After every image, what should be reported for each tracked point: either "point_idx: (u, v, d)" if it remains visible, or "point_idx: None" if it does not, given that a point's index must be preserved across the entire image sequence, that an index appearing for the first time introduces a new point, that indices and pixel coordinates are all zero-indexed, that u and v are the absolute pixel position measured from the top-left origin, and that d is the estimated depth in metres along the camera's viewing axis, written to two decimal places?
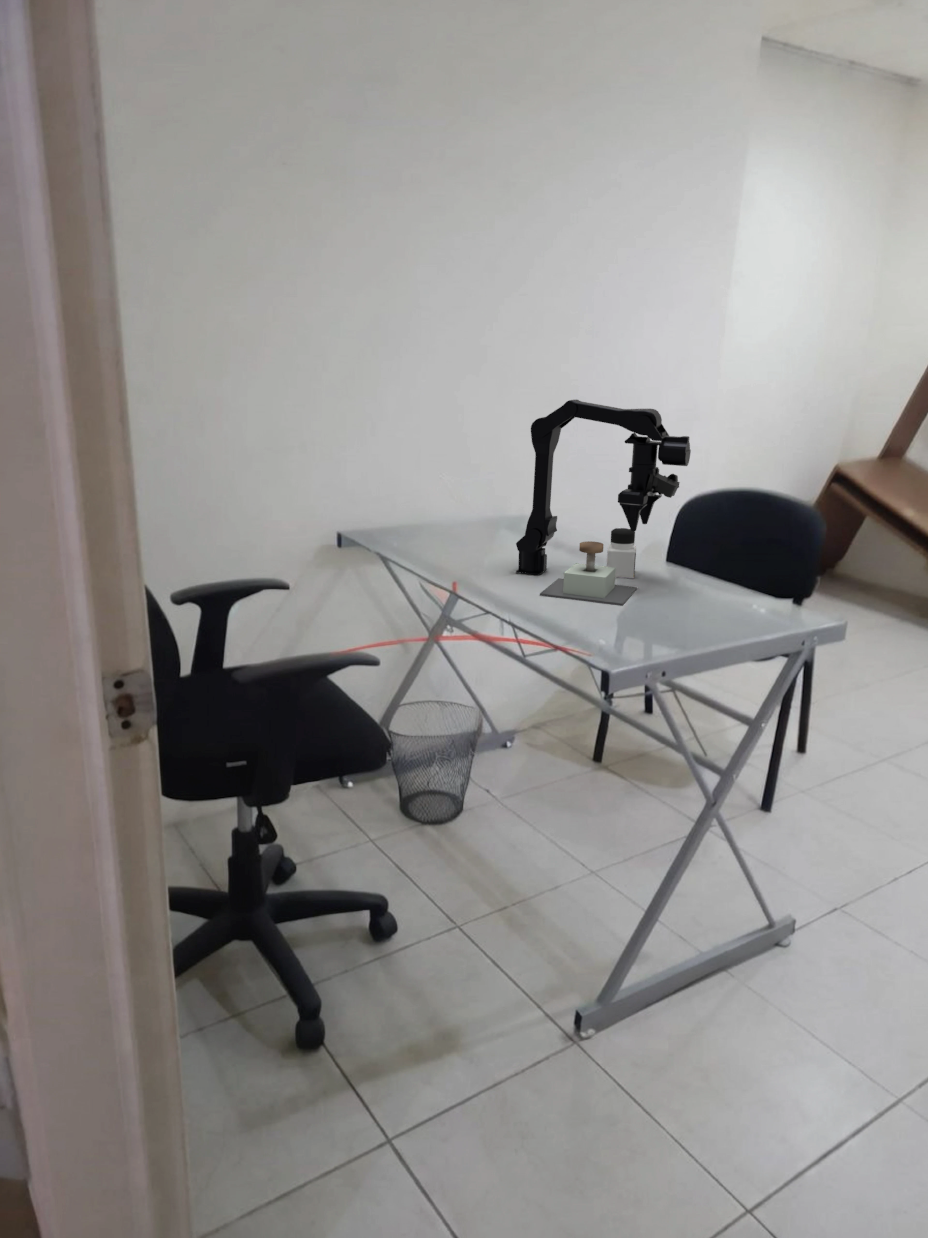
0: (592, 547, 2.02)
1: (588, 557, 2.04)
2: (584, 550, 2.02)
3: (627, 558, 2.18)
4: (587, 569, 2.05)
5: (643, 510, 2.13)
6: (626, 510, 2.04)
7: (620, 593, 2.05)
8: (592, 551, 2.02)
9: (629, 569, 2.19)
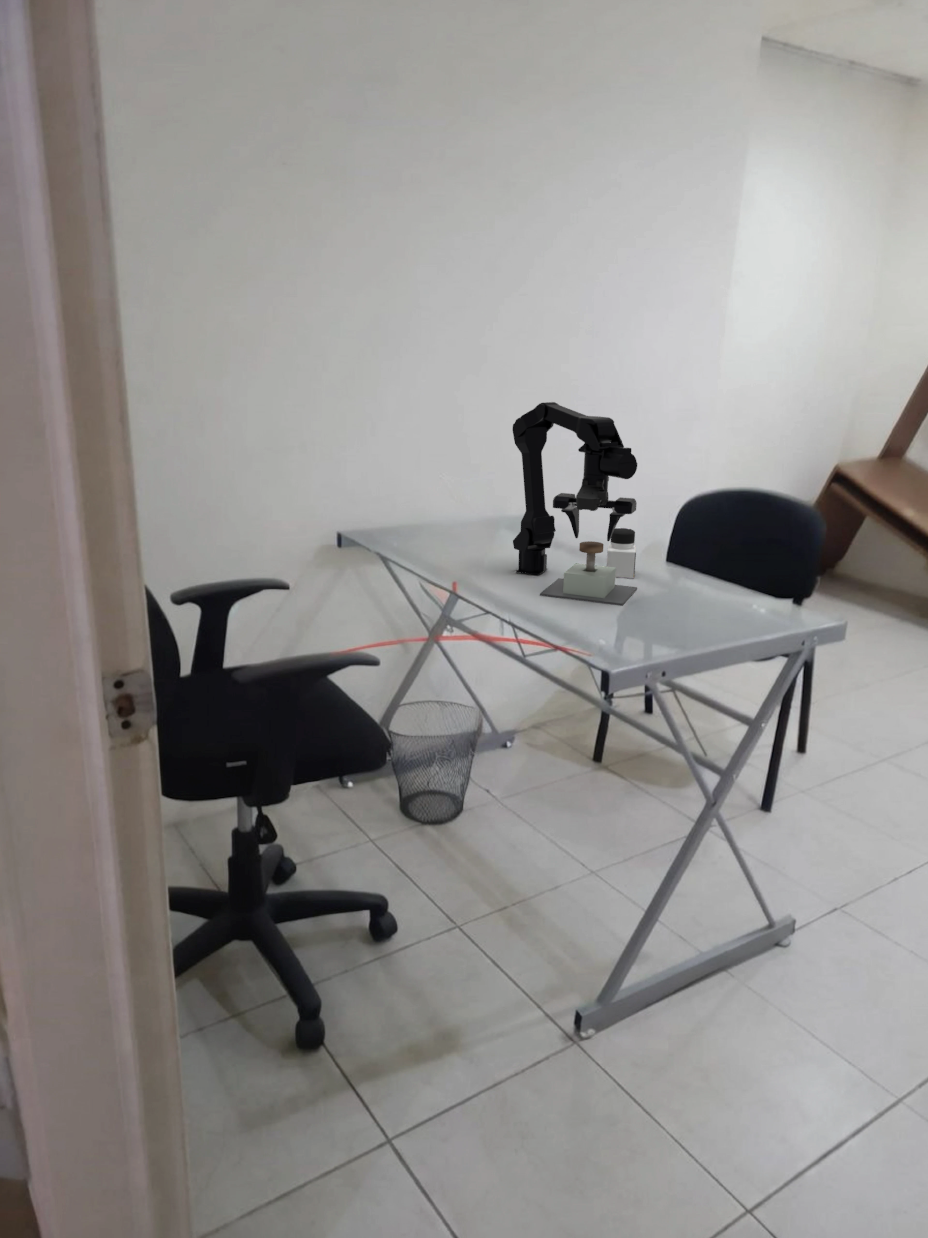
0: (592, 547, 2.02)
1: (588, 557, 2.04)
2: (584, 550, 2.02)
3: (627, 558, 2.18)
4: (587, 569, 2.05)
5: None
6: None
7: (620, 593, 2.05)
8: (592, 551, 2.02)
9: (629, 569, 2.19)
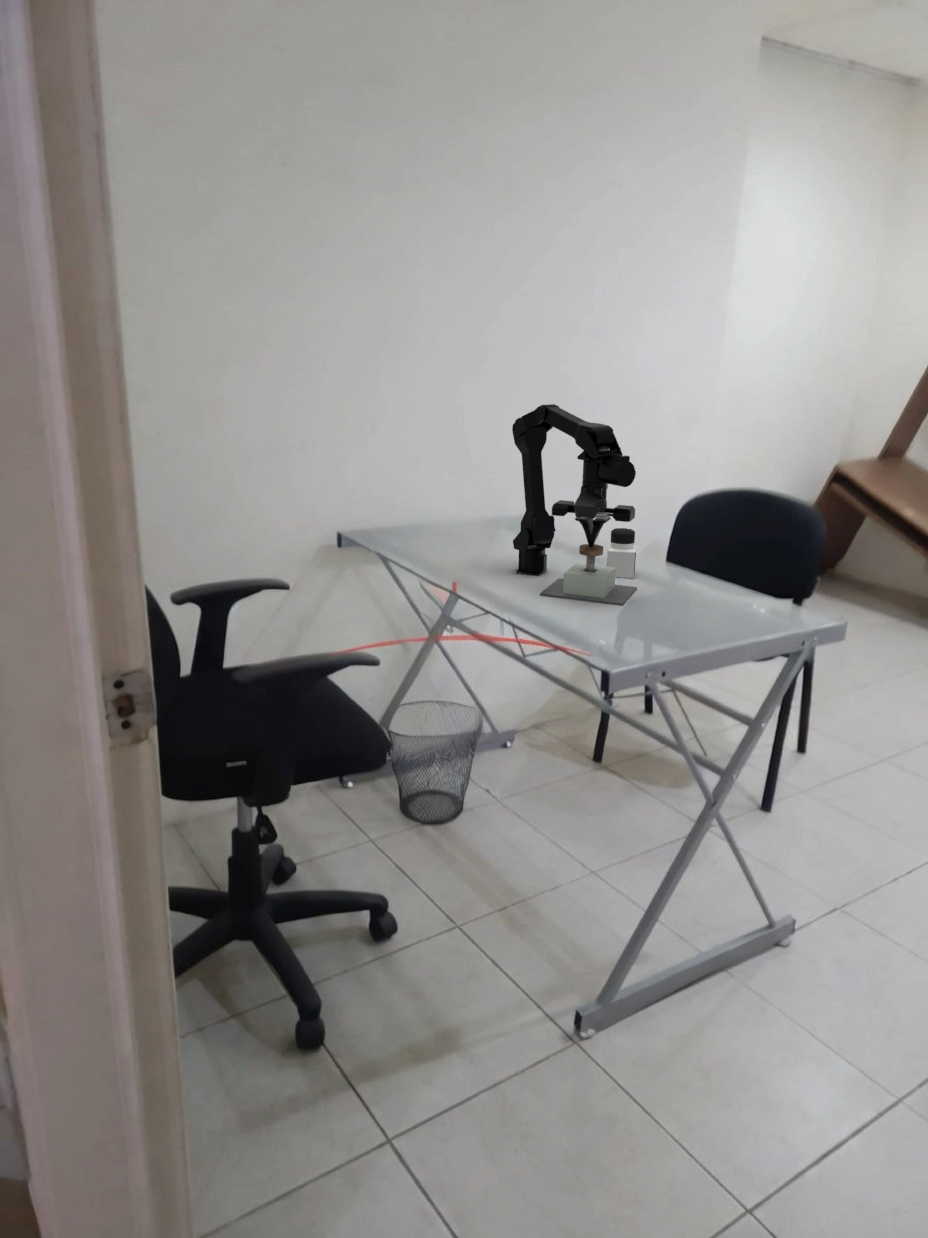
0: (592, 550, 2.02)
1: (588, 560, 2.05)
2: (584, 553, 2.03)
3: (627, 558, 2.18)
4: None
5: None
6: None
7: (620, 593, 2.05)
8: (592, 554, 2.02)
9: (629, 569, 2.19)
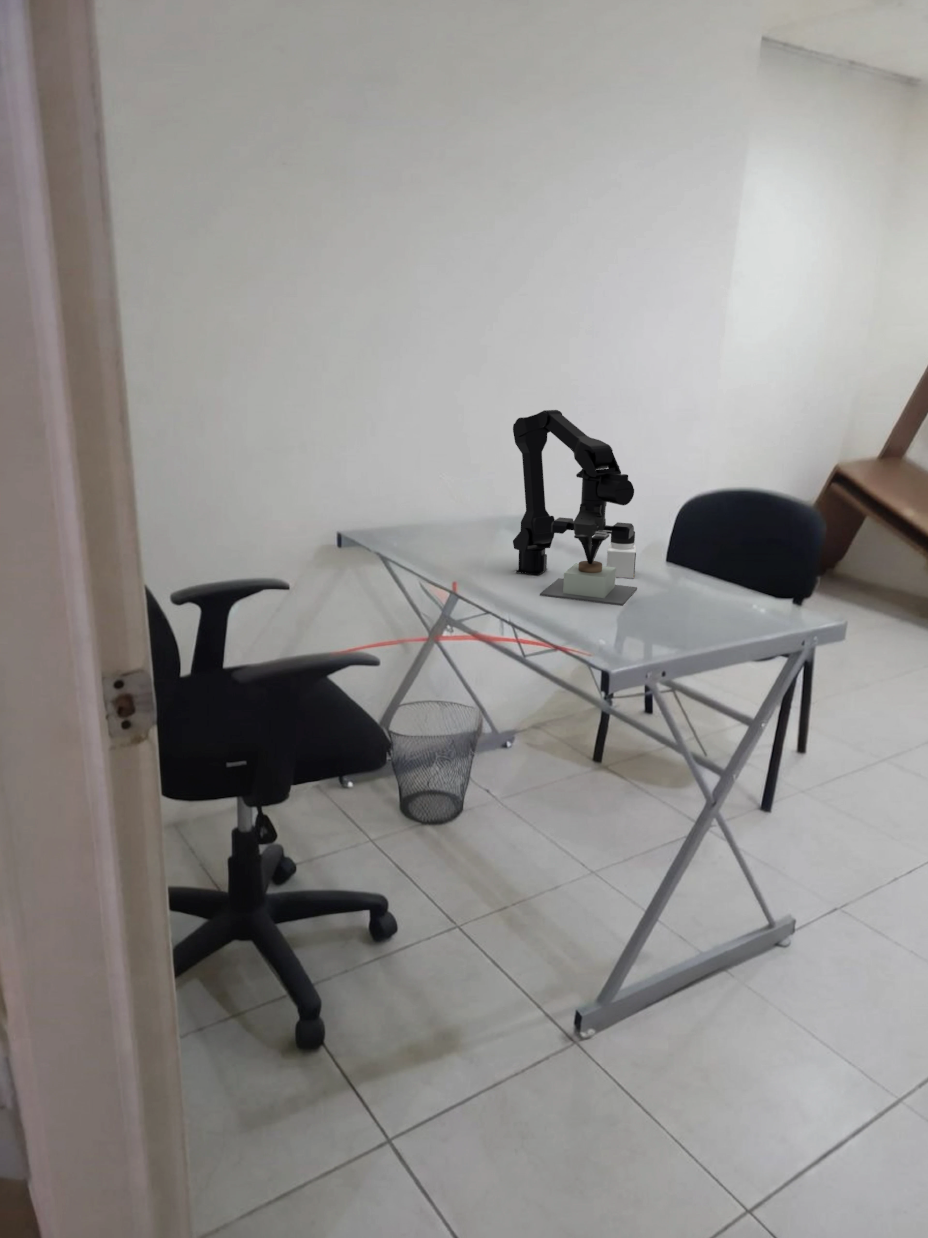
0: (591, 567, 2.03)
1: None
2: (583, 570, 2.04)
3: (627, 558, 2.18)
4: None
5: None
6: None
7: (620, 593, 2.05)
8: (591, 571, 2.03)
9: (629, 569, 2.19)
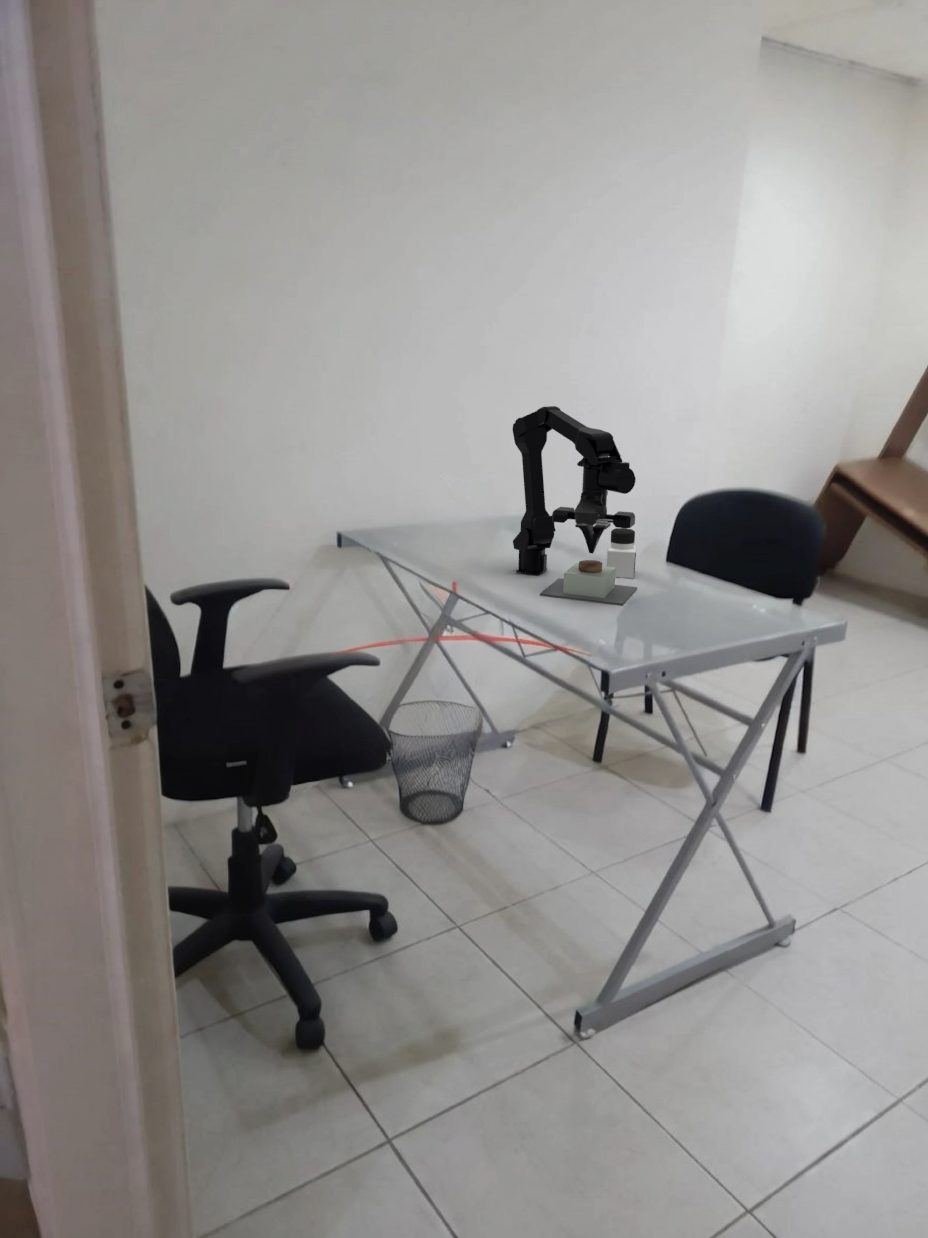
0: (591, 566, 2.03)
1: None
2: (583, 569, 2.04)
3: (627, 558, 2.18)
4: None
5: None
6: None
7: (620, 593, 2.05)
8: (591, 570, 2.03)
9: (629, 569, 2.19)
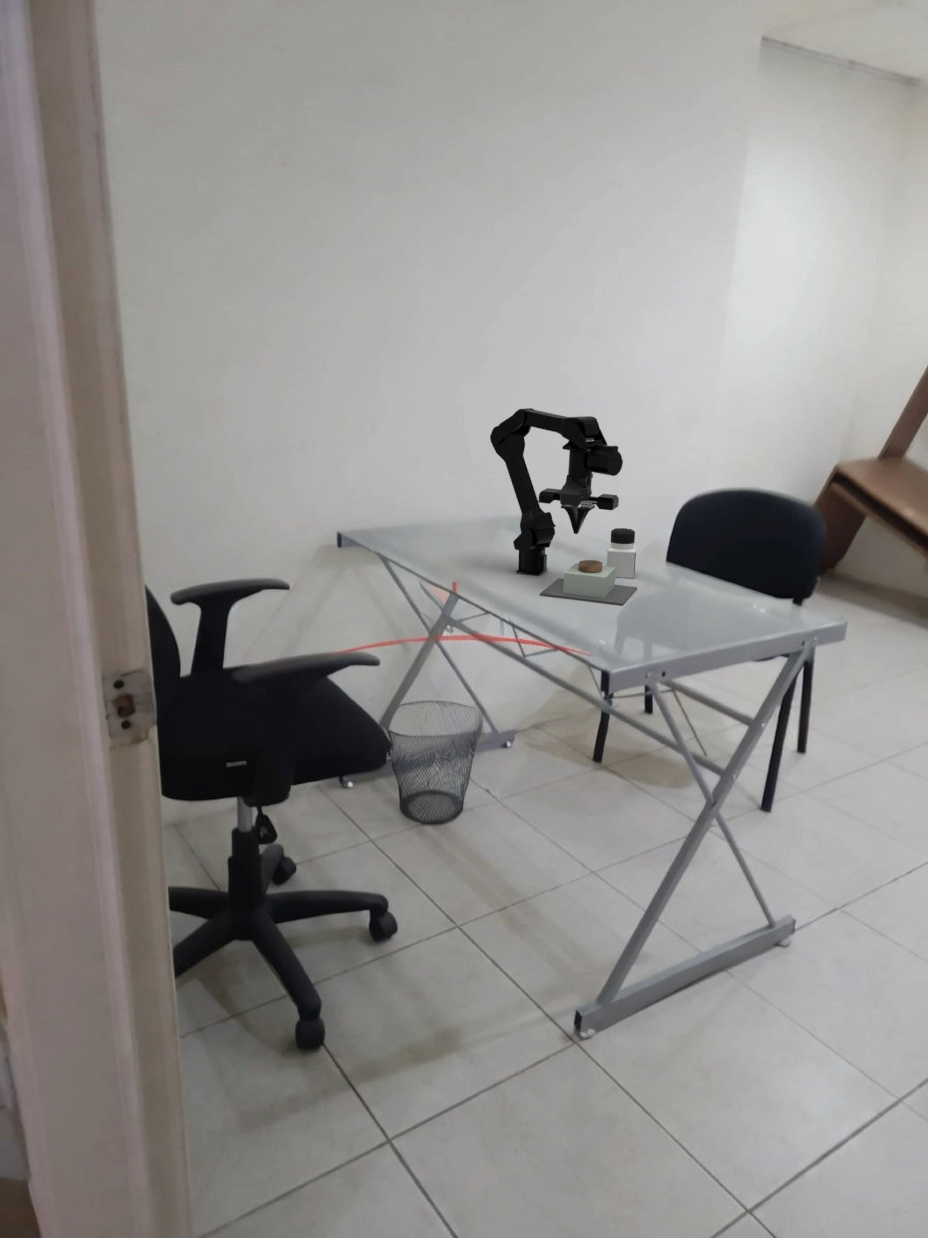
0: (591, 566, 2.03)
1: None
2: (583, 569, 2.04)
3: (627, 558, 2.18)
4: None
5: None
6: None
7: (620, 593, 2.05)
8: (591, 570, 2.03)
9: (629, 569, 2.19)
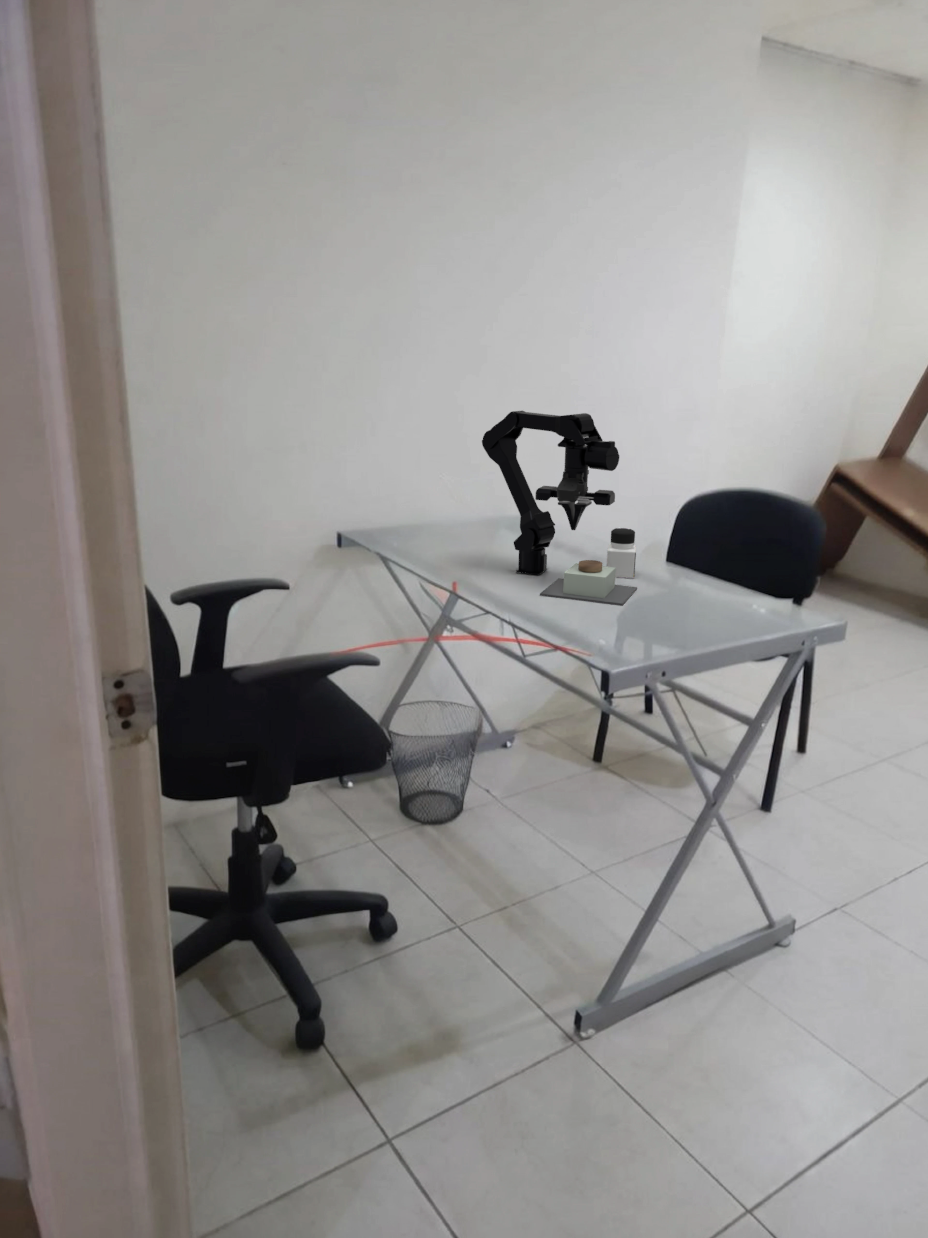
0: (591, 566, 2.03)
1: None
2: (583, 569, 2.04)
3: (627, 558, 2.18)
4: None
5: None
6: None
7: (620, 593, 2.05)
8: (591, 570, 2.03)
9: (629, 569, 2.19)
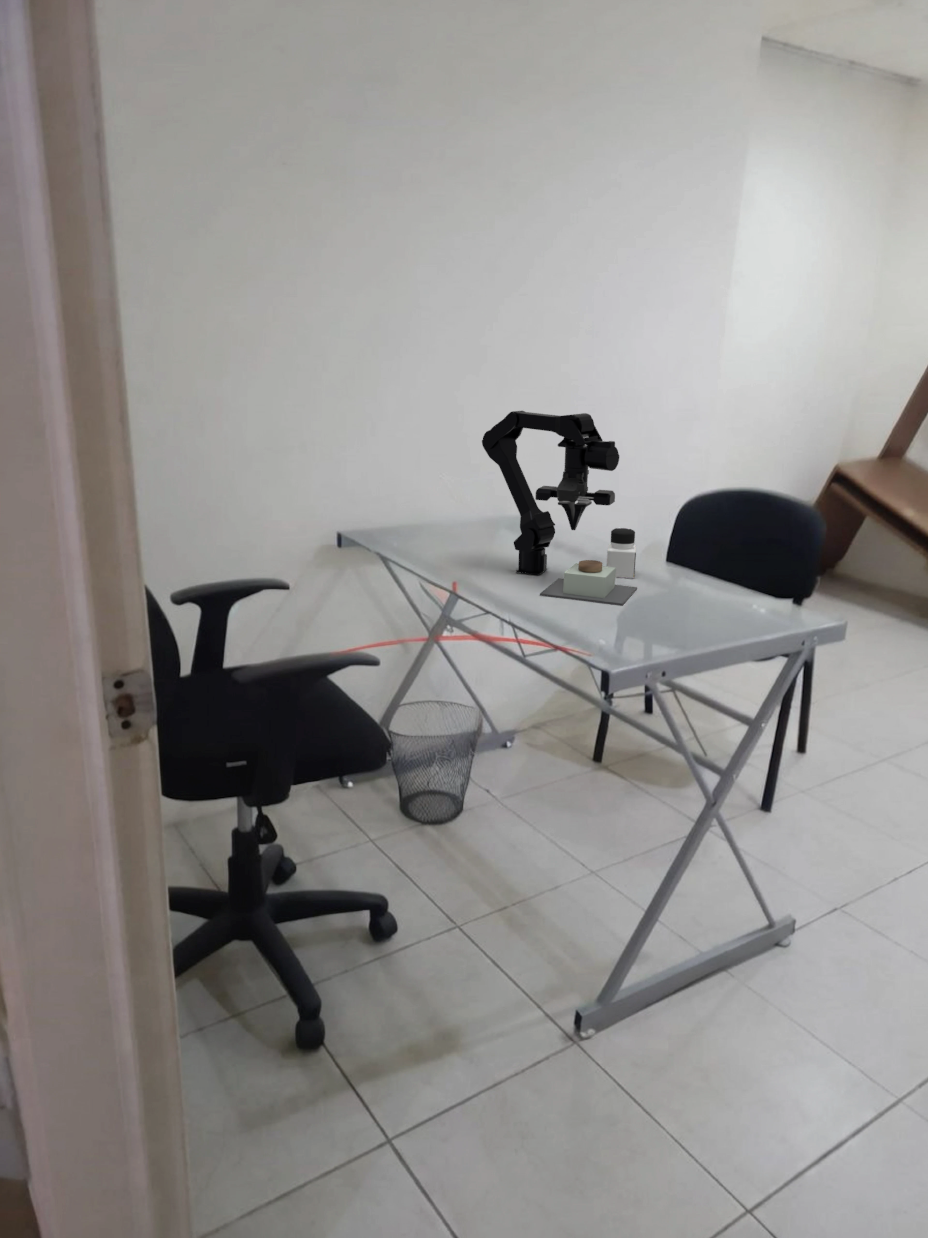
0: (591, 566, 2.03)
1: None
2: (583, 569, 2.04)
3: (627, 558, 2.18)
4: None
5: None
6: None
7: (620, 593, 2.05)
8: (591, 570, 2.03)
9: (629, 569, 2.19)
